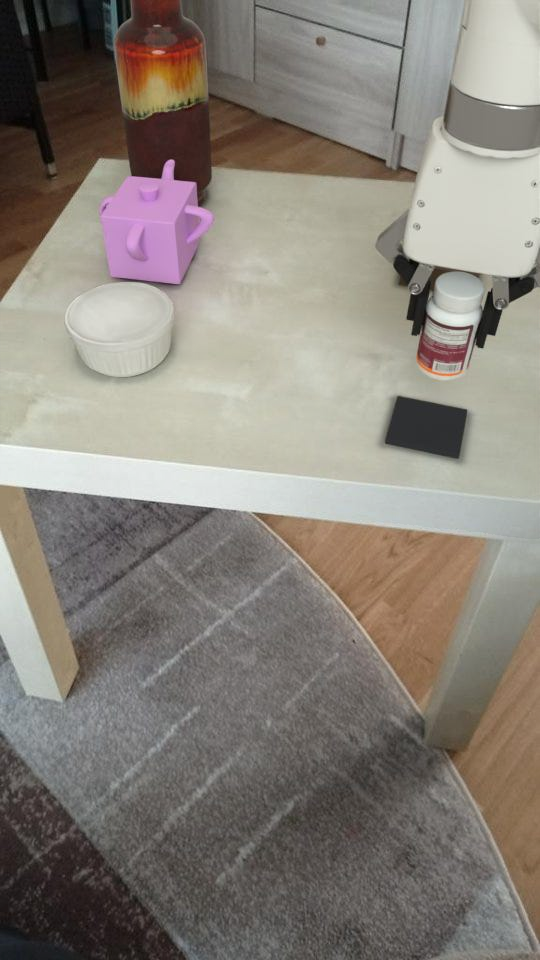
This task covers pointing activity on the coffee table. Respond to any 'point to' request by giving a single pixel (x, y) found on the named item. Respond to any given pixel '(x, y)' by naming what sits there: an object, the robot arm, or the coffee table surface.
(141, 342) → the ramekin
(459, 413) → the mat
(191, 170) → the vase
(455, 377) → the pill bottle
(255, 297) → the coffee table surface
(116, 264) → the teapot
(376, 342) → the coffee table surface
